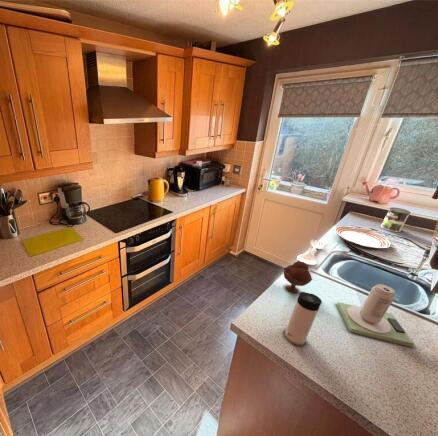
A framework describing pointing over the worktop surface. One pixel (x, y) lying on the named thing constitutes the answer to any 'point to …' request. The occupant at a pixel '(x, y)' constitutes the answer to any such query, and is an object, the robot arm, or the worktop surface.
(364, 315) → the energy drink can
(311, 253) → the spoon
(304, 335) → the travel mug
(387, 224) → the glass jar
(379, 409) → the worktop surface
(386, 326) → the kitchen scale
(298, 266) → the ice cream bowl
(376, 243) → the dinner plate
